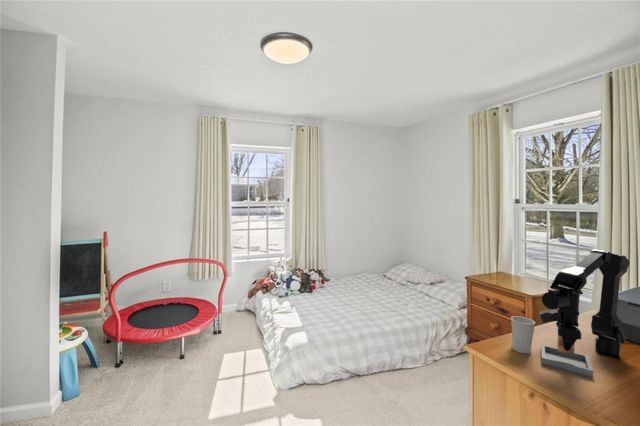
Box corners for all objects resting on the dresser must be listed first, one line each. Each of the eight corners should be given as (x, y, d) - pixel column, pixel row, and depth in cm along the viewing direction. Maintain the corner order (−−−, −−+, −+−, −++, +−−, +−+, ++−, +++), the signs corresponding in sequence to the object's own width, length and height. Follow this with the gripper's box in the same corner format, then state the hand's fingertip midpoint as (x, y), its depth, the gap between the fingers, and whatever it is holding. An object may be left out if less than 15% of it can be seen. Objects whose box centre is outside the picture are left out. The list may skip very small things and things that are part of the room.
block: (572, 350, 113) (573, 336, 112) (573, 354, 109) (574, 341, 109) (557, 346, 115) (558, 333, 115) (558, 351, 111) (558, 337, 111)
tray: (587, 361, 113) (587, 355, 113) (592, 378, 103) (593, 370, 103) (541, 350, 121) (541, 344, 121) (541, 364, 111) (542, 357, 111)
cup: (537, 355, 117) (539, 325, 117) (514, 352, 119) (516, 322, 118) (527, 345, 125) (529, 317, 125) (506, 343, 127) (507, 315, 126)
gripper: (540, 295, 123) (538, 333, 124) (541, 308, 108) (539, 351, 109) (576, 301, 117) (574, 341, 118) (582, 315, 102) (579, 361, 103)
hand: (565, 347), depth 112 cm, fingers closed on block, 4 cm apart
